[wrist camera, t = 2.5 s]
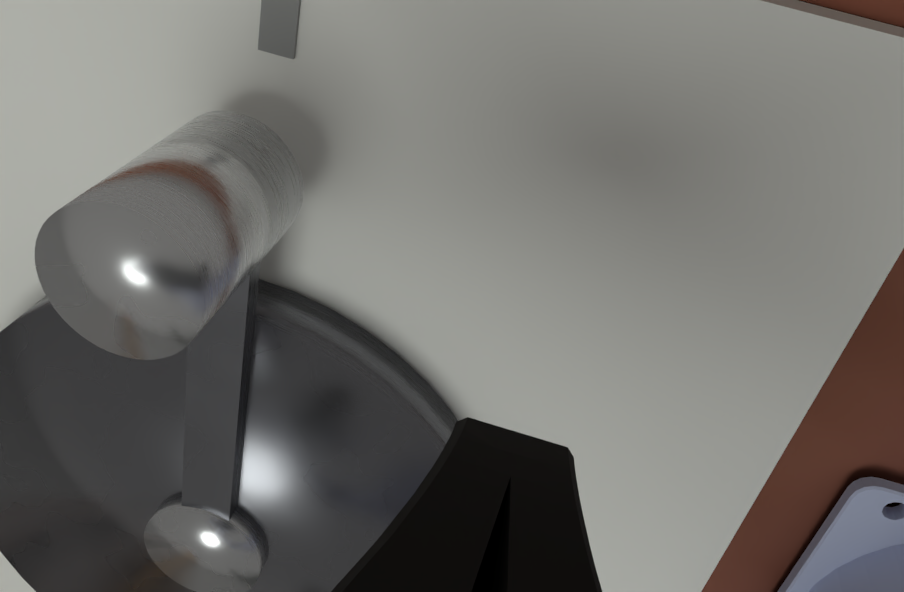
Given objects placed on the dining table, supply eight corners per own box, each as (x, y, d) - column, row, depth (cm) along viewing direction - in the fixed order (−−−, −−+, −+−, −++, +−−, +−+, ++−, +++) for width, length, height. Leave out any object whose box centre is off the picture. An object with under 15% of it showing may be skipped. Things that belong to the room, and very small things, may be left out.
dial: (437, 721, 25) (389, 925, 20) (14, 582, 26) (-121, 747, 21) (628, 189, 15) (619, 353, 11) (-65, -4, 16) (-347, 69, 11)
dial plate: (989, 50, 14) (1013, 67, 13) (546, 828, 29) (543, 862, 28) (-388, -309, 15) (-454, -317, 14) (-126, 603, 30) (-150, 628, 30)
